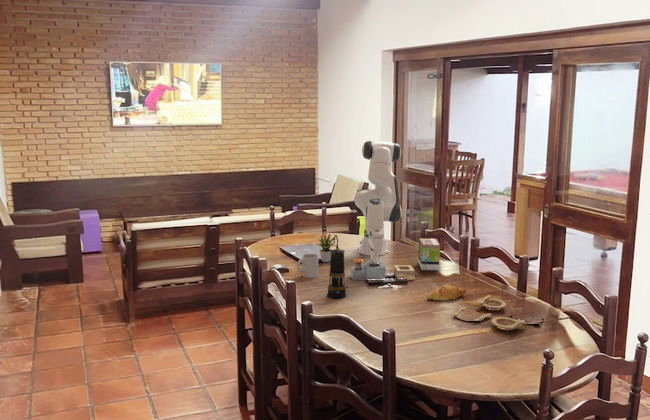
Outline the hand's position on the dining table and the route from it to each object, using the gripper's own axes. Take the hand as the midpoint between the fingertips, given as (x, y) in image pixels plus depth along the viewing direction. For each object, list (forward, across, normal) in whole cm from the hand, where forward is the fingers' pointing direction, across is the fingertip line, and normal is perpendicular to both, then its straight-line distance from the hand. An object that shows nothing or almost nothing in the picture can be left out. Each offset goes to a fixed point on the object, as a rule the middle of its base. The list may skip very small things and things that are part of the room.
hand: (374, 255), depth 320 cm
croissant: (+12, +33, +29) cm, 46 cm away
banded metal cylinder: (+9, 0, 0) cm, 9 cm away
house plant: (+12, -32, -22) cm, 40 cm away
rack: (+12, 0, +16) cm, 20 cm away
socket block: (+12, 0, 0) cm, 12 cm away
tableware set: (+12, +60, +45) cm, 76 cm away
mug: (+12, -4, -35) cm, 37 cm away
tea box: (+12, -18, +34) cm, 40 cm away
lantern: (+12, +27, -23) cm, 38 cm away
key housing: (+12, 0, -8) cm, 15 cm away
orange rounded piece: (+11, 0, -8) cm, 14 cm away
